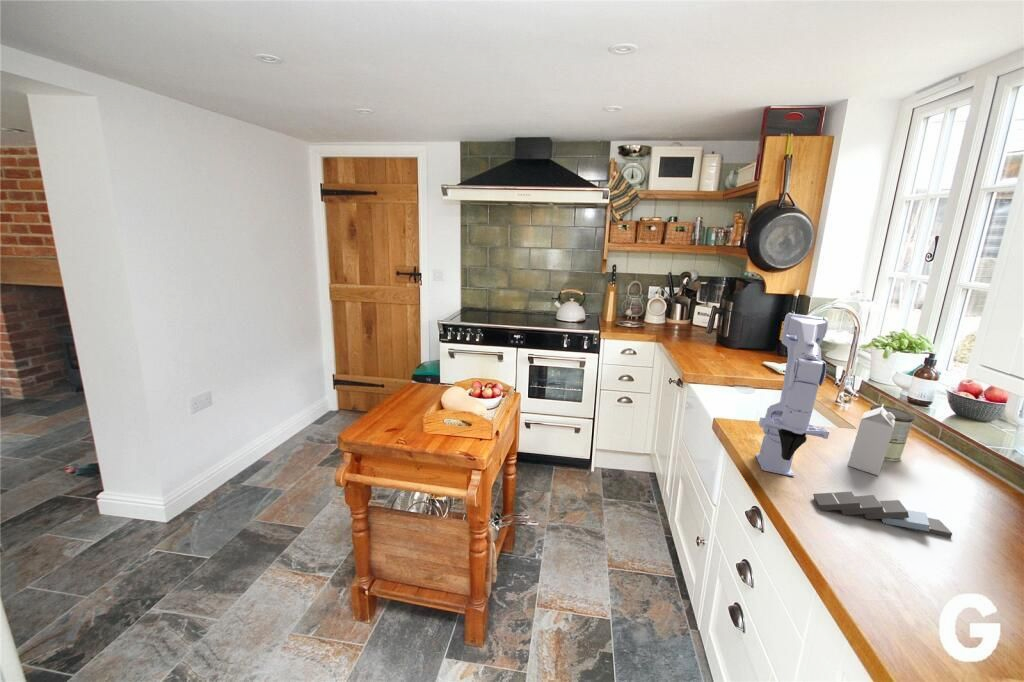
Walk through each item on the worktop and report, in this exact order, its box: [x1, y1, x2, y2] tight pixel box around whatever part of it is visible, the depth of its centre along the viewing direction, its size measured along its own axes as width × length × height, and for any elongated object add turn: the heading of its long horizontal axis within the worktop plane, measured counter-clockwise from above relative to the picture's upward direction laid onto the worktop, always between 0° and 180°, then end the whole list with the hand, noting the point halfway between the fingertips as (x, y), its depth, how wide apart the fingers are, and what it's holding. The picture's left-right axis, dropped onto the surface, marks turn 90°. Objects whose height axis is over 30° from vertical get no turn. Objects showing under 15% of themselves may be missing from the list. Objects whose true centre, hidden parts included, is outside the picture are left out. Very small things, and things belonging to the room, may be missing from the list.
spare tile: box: [881, 509, 929, 531], centre depth 102 cm, size 2×5×8 cm
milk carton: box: [847, 403, 895, 476], centre depth 126 cm, size 7×7×19 cm
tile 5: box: [906, 517, 953, 539], centre depth 102 cm, size 2×5×8 cm
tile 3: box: [862, 499, 909, 520], centre depth 104 cm, size 2×5×8 cm
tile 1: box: [812, 491, 861, 512], centre depth 106 cm, size 2×5×8 cm
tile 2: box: [839, 494, 884, 516], centre depth 105 cm, size 2×5×8 cm
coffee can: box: [870, 404, 915, 462], centre depth 136 cm, size 10×10×14 cm
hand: (785, 458), depth 110 cm, fingers closed
